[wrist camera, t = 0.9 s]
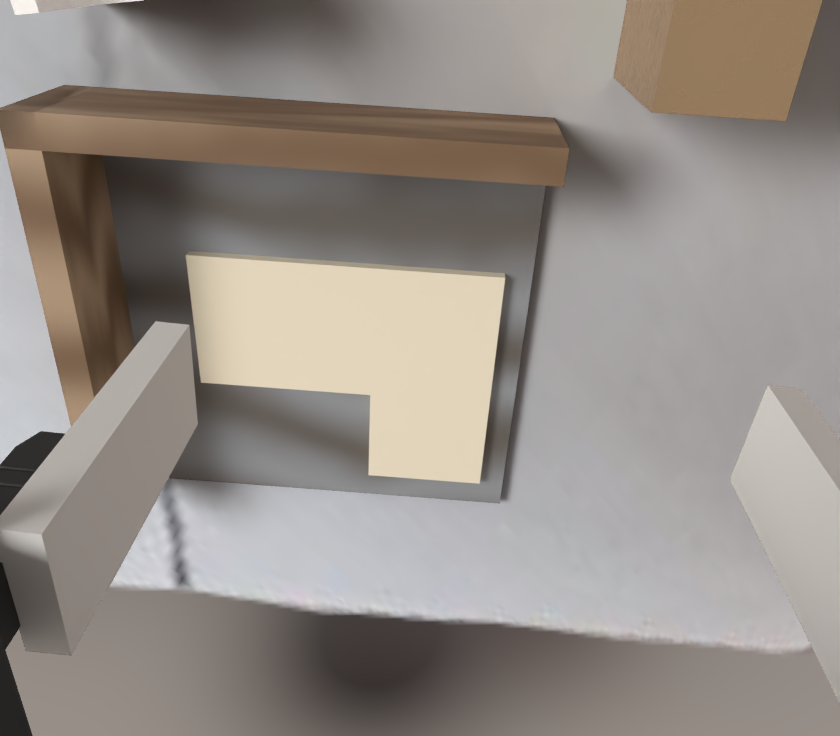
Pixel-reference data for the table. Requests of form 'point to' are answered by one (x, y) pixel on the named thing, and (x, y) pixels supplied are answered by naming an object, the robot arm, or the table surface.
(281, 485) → the arena
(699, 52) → the wooden l-shaped block
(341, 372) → the pad
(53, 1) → the bracket
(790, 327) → the table surface
